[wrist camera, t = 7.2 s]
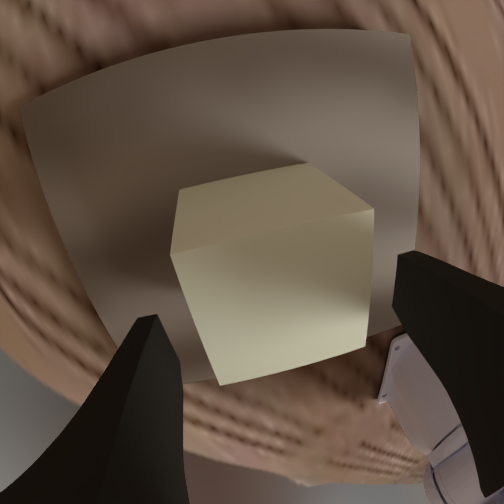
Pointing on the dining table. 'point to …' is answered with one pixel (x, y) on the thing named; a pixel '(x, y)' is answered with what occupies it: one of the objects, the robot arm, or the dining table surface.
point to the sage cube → (274, 269)
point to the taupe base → (222, 156)
